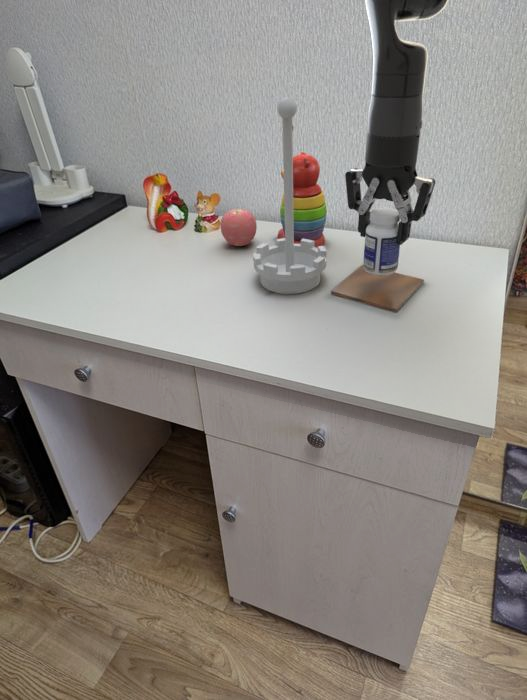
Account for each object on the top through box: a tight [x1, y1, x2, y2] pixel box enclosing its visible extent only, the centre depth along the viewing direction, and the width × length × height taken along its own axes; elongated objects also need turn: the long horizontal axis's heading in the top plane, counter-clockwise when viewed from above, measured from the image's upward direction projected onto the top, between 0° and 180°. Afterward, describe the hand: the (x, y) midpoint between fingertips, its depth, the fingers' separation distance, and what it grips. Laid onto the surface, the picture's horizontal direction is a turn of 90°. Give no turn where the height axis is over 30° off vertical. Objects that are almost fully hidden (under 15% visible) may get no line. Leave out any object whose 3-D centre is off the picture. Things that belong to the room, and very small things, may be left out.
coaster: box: [330, 264, 425, 313], centre depth 86 cm, size 12×12×1 cm
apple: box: [219, 208, 258, 247], centre depth 102 cm, size 7×7×8 cm
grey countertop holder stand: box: [252, 97, 328, 295], centre depth 82 cm, size 13×13×30 cm
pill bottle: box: [362, 207, 401, 276], centre depth 81 cm, size 6×6×10 cm
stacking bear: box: [277, 151, 328, 248], centre depth 98 cm, size 11×10×18 cm
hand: (382, 238), depth 81 cm, fingers closed on pill bottle, 5 cm apart
